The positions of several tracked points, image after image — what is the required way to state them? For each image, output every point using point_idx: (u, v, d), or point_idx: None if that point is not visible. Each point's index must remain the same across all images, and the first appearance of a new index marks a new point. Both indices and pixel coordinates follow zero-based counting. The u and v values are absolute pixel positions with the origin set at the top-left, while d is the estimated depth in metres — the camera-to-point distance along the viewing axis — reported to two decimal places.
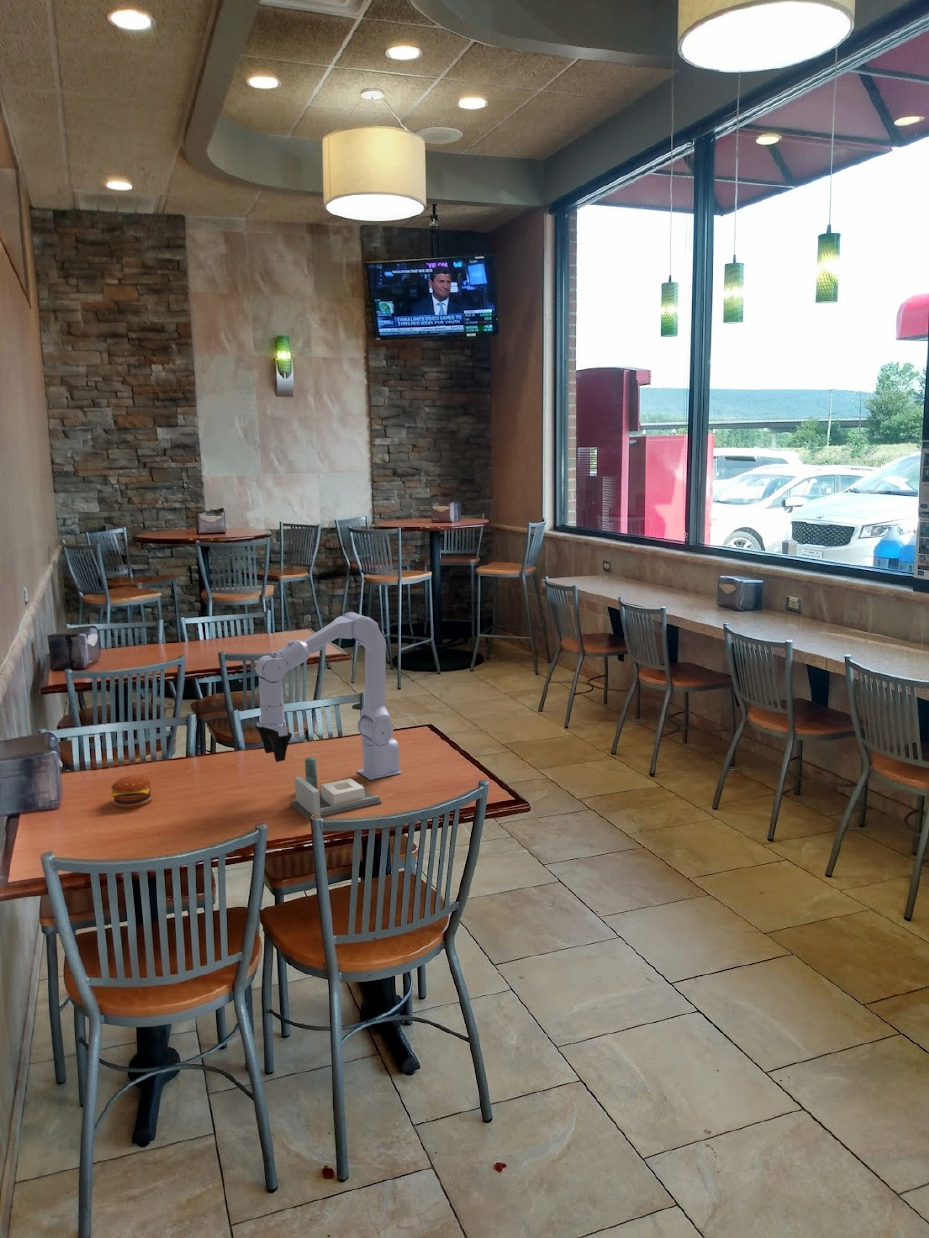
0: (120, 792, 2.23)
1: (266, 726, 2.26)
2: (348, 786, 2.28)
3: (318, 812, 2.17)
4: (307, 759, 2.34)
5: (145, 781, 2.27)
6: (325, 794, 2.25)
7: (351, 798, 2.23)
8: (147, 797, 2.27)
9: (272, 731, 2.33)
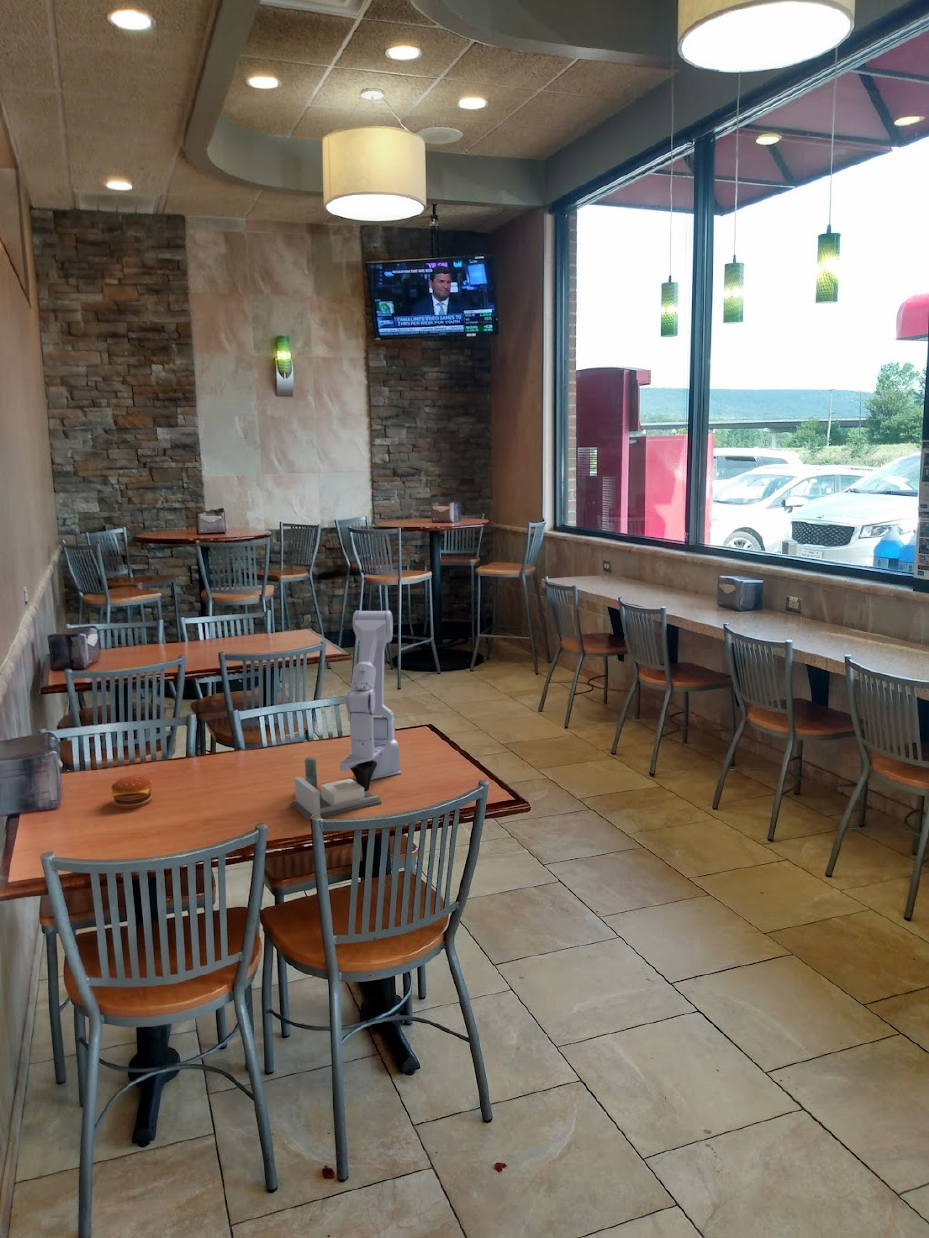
0: (120, 792, 2.23)
1: None
2: (348, 786, 2.28)
3: (318, 812, 2.17)
4: (307, 759, 2.34)
5: (145, 781, 2.27)
6: (325, 794, 2.25)
7: (351, 798, 2.23)
8: (147, 797, 2.27)
9: None
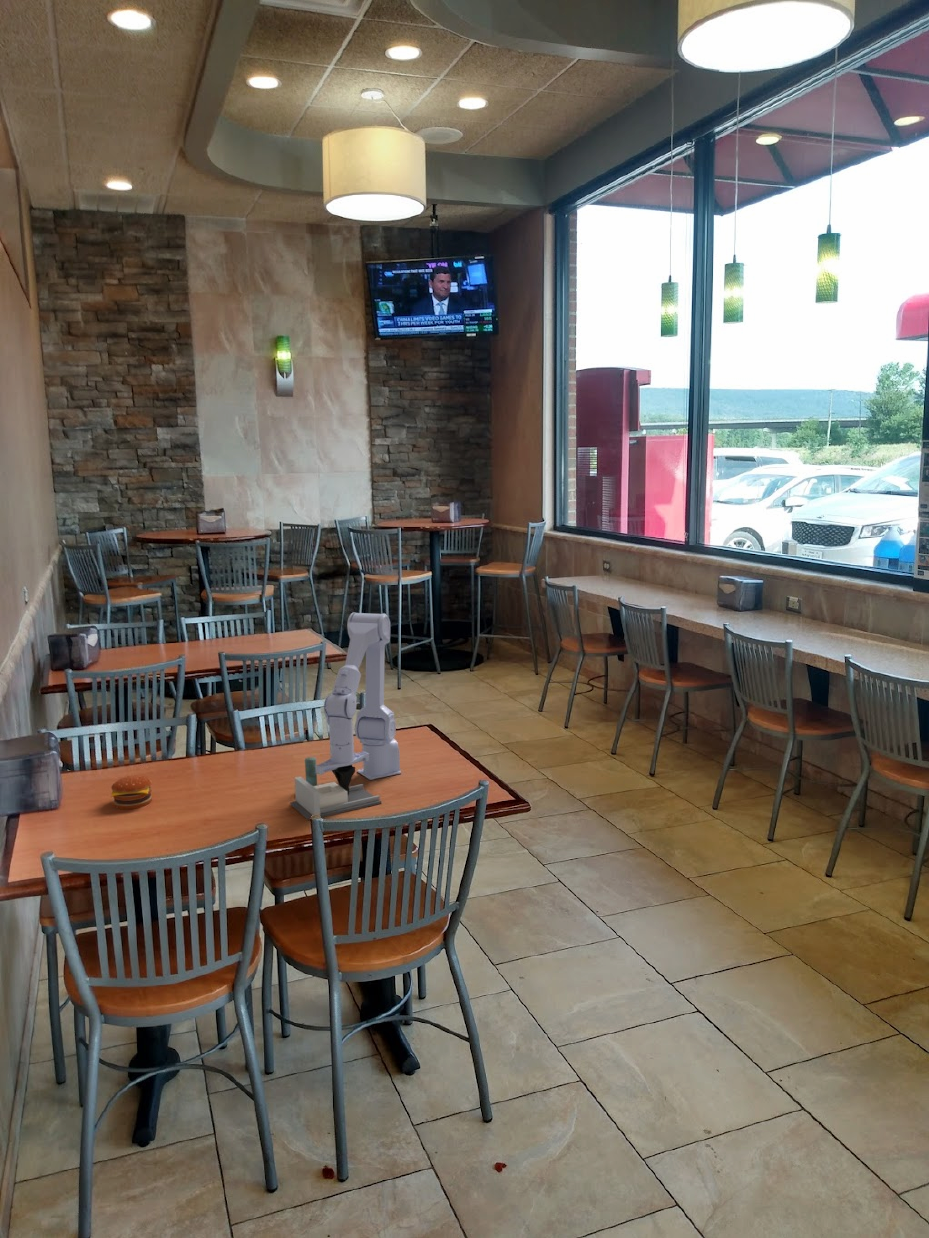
0: (120, 792, 2.23)
1: None
2: (331, 790, 2.25)
3: (318, 812, 2.17)
4: (307, 759, 2.34)
5: (145, 781, 2.27)
6: None
7: (334, 802, 2.21)
8: (147, 797, 2.27)
9: None
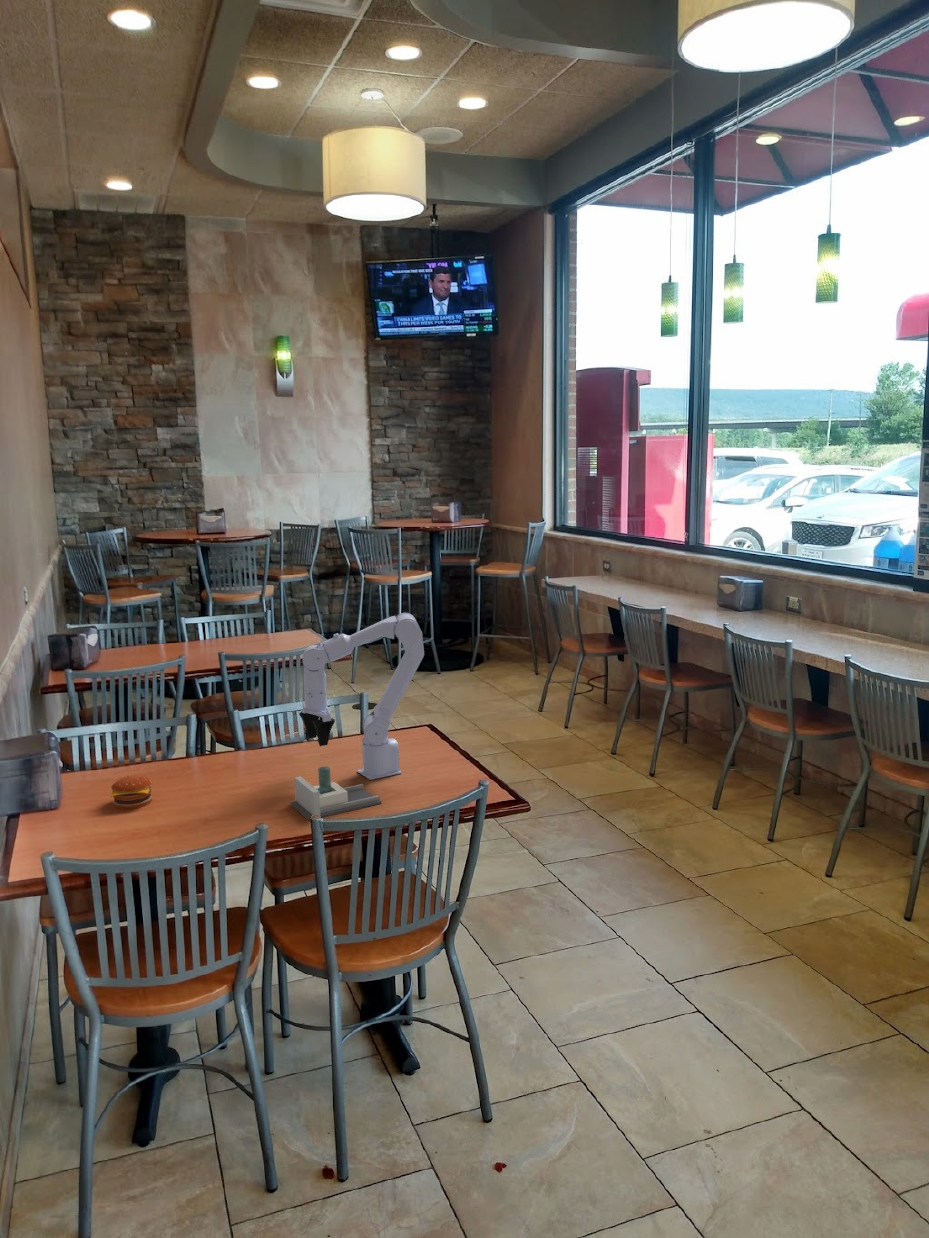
0: (120, 792, 2.23)
1: (310, 712, 2.38)
2: (331, 790, 2.25)
3: (318, 812, 2.17)
4: (321, 769, 2.22)
5: (145, 781, 2.27)
6: None
7: (334, 802, 2.21)
8: (147, 797, 2.27)
9: (315, 717, 2.45)
